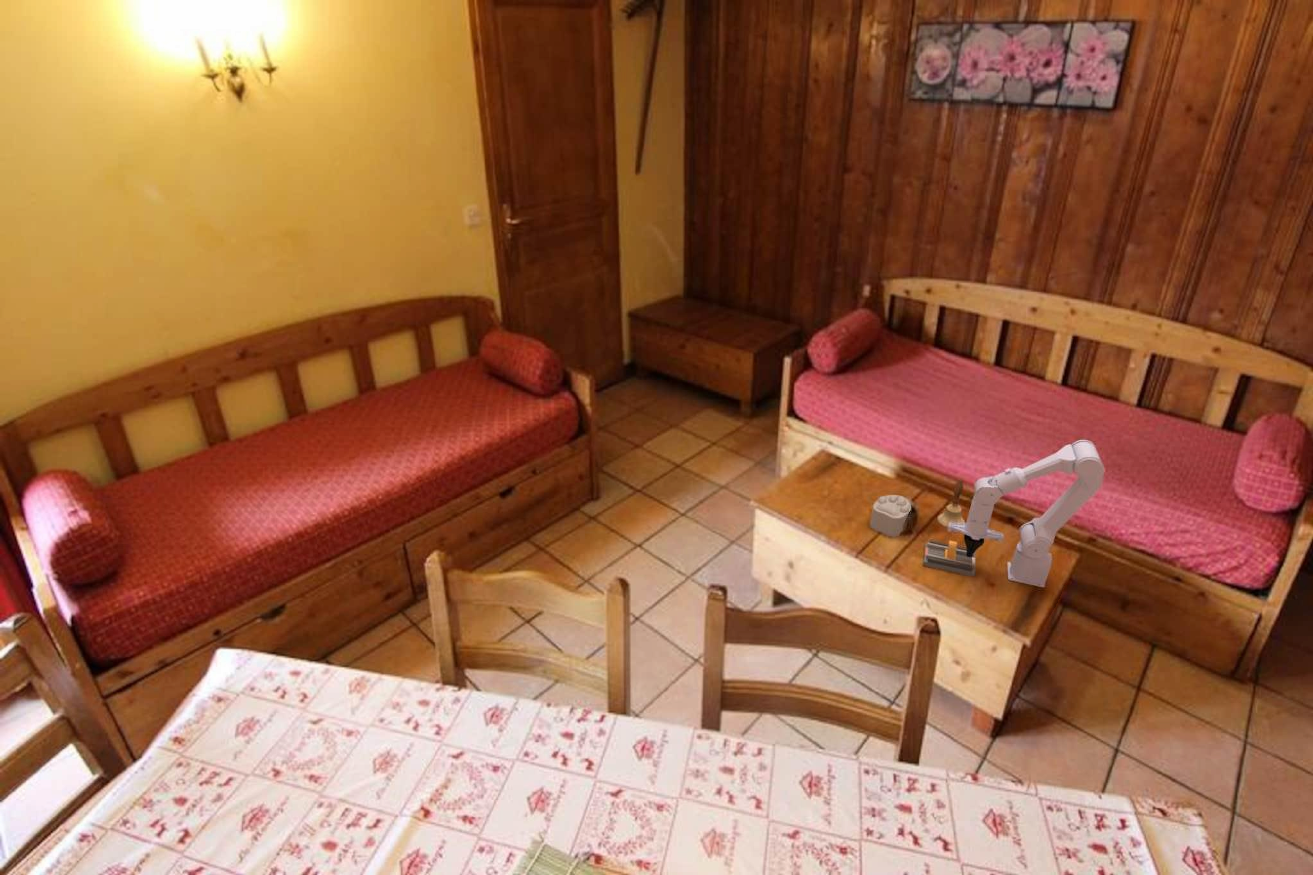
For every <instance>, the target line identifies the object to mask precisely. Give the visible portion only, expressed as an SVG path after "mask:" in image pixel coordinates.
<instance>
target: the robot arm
mask: <svg viewBox="0 0 1313 875" xmlns="http://www.w3.org/2000/svg"><path fill="white" fill-rule="evenodd" d="M1104 466H1105V465H1104V464H1103V462H1102V460H1101V458H1100V454H1099V452H1098V449H1097V448H1096V445H1095V444H1094V443H1093V442H1092V441H1091V440H1087V439H1080V440H1076V441H1075V442H1073V443H1072V444H1071V443H1070V444H1067V445H1066V444H1065V445H1064V446H1063V447H1061V449H1059V450H1058V451H1057V452H1055V453H1053V454H1050V455H1049V456H1046V457H1044V458H1042V459H1040V460H1038V461H1036V462H1034V463H1032V464H1030V465H1028V466H1026V467H1024V468H1020V467H1013V468H1010V467H1007V468H1006V469H1004V470H1005V471H1003V472H1000V473H998V474H995V475H994V476H992V475H991V476H987V477H980V478H979V479H977V480H976V482H974V483H973V488H974V490H975V491H974V494H973V498H972V500H971V503H970V504H971V505H970V508H969V512H968V515H967V519H966V522H965V523H949V525H948V528H947V532H949V533H952V532H956V533H958V534H960V533H961V534H963V541H964V543H965V548H967V552H966V556H967V557H972V555H973V554H974V552H975V553H976V551H977V550H978V549H979V548H980V547H982V546H983V545H984V543H985V540H986V539H988V540H994V541H997V542H998V543H1003V540H1004V533H1003V532H999V531H996V530H993V529H990V528H989V525H990V522H991V518H992V514H993V511H994V509H995V508H994V507H995V506H994V505H995V504H996V503H998V501H999V500H1000V498H1003V496H1005V495H1008V494H1010V493H1012V492H1016V491H1018V490H1020V489H1023V488H1025V487H1027V484H1028V483H1029V481H1032V480H1034V479H1038V478H1040V477H1045V476H1047V475H1049V474H1053V473H1056V472H1059V471H1060V472H1063V473H1065V474H1068V475H1071V476H1073V475H1074V471H1075V473H1076V475H1077V476H1078V478H1077V479H1076V480H1075V481H1073V483H1072V484H1071V485H1070V486H1069V487H1068V488H1067V489H1066V490H1065V491H1064V493H1062V494H1061V495H1060V496H1059V497H1058V498H1057V499H1056V501H1055V502H1054V503H1053V504H1052V505H1051V506H1049V508H1048V509H1047V510H1046V511H1045V512H1044V513H1043V514H1042V515H1041V516H1040V517H1033V518H1032V520H1030V521H1028V522H1026V523H1023V524H1022V525H1021V526H1020V528H1019V531H1018V533H1019V536H1020V540H1019V541H1018V542H1017V544H1016V547H1015V550H1014V554H1013V557H1012V561H1008V562H1007V564H1006V567H1007V580H1009V581H1013V582H1016V583H1021V584H1026V585H1030V586H1036V587H1039V588H1045V587H1046V582H1047V580H1048V579H1047V578H1048V576H1049V573H1050V570H1051V566H1052V561H1053V557H1052V556H1053V555H1052V553H1050V552H1049V550H1050V547H1051V546H1052V545H1053V544H1054V541H1055V537H1056V534H1057V533H1058V532H1059V530H1060V529H1061V528H1062V527H1063V526H1064V525H1065V524H1066V523H1067V522H1068V521H1069V520H1070V519H1071V518H1072V517H1073V516H1074V515H1076V514H1077V512H1078V511H1079V510H1080V509H1081V508H1082V507H1083V506H1084V505H1085V504H1086V503H1087V502H1088V501H1090V499H1091V498H1092V497H1094V495H1095V494H1096V493H1097V492H1098V491H1099V490H1100V489H1101V488H1102V486H1103V481H1104V474H1105V472H1106V469H1105V467H1104Z"/></svg>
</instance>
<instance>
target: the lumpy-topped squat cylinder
mask: <svg viewBox="0 0 1313 875" xmlns="http://www.w3.org/2000/svg"><path fill="white" fill-rule="evenodd" d="M911 505H912V504H911V502H910V501H909V500H908V499H907V498H906V497H904V496H902V495H899V494H898V495H897V494H889V495H884V496H883V495H881V496H880V497H879V498H878V499H877V500H876V501H874V504H873V505H872V510H871V515H870V520H869V527H870V529H872V530H873V531H877V532H878V533H882V534H883V535H885V536H887V537H890V536H891V538H896V537H899V536H900V535H899V534H900V532H901V528H902V525H903V523H904V522H905V520H906V518H907V516H908V514H909V512H910V511H911V512H912V506H911ZM911 512H910V513H911Z"/></svg>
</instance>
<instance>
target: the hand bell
mask: <svg viewBox="0 0 1313 875" xmlns="http://www.w3.org/2000/svg"><path fill="white" fill-rule="evenodd" d="M963 482H964V480H963V478H958V479H957V480H956V482H955V484H954V486H953V499H952V503H951V504H950V503H949V504H948V505H946V507H945V510H944V511H943V513H940V514H939V515H938V516H937V522H938V523H939V524H940V525H941V526H943V527H945V528H947V529H948V525H949V523H966V522H965V520H964V518H963V516H962V511H963V510H962V507H961V506H960V505H959V501H960V496H961V495H962V493H963V491H964V483H963Z"/></svg>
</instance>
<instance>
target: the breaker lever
mask: <svg viewBox="0 0 1313 875" xmlns="http://www.w3.org/2000/svg"><path fill="white" fill-rule="evenodd" d="M948 544H949V545H948V549H947V550H946V549H945V558H949V559H954V560H956V548H957V546H958V542H957V541H953V540H949V541H948Z"/></svg>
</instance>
